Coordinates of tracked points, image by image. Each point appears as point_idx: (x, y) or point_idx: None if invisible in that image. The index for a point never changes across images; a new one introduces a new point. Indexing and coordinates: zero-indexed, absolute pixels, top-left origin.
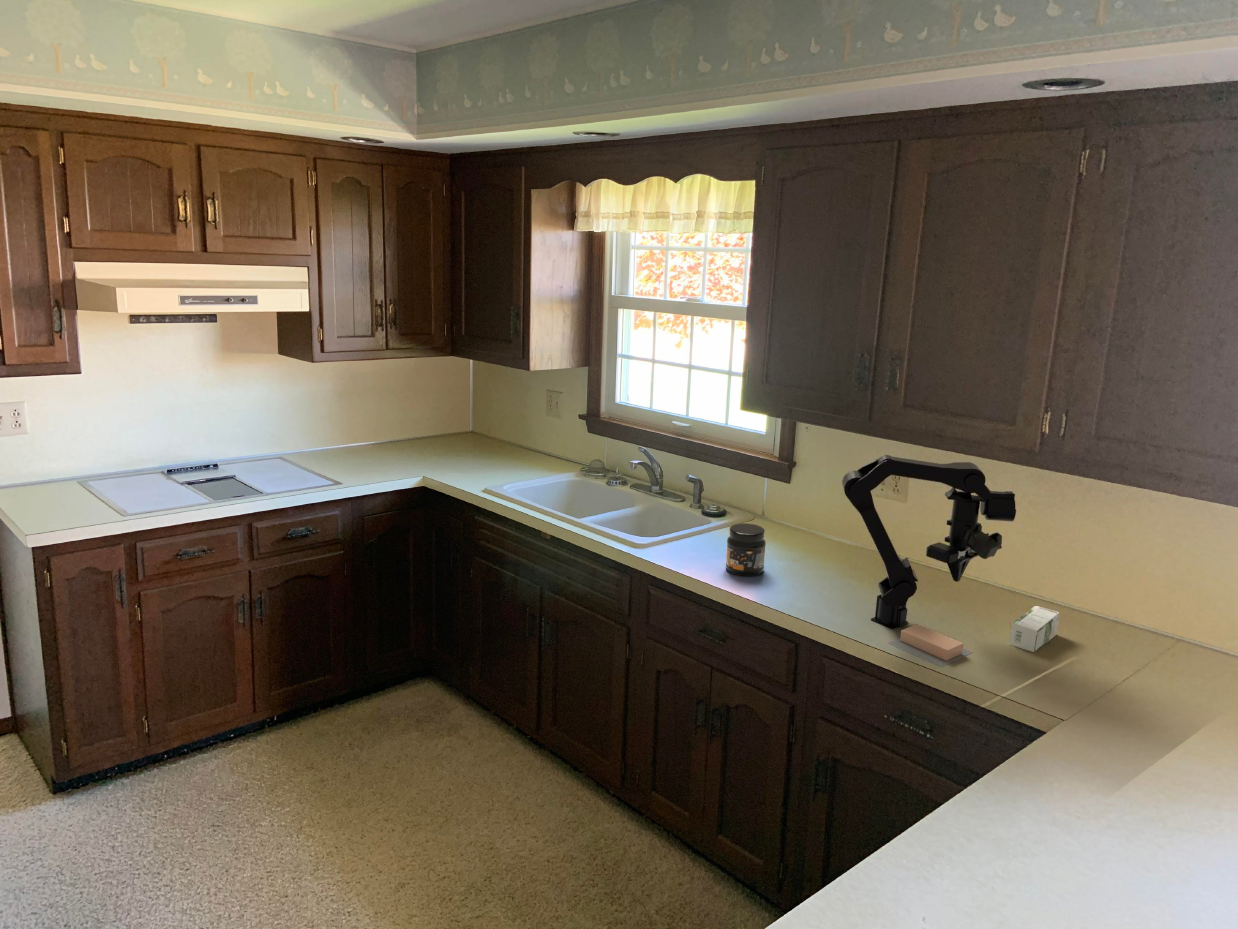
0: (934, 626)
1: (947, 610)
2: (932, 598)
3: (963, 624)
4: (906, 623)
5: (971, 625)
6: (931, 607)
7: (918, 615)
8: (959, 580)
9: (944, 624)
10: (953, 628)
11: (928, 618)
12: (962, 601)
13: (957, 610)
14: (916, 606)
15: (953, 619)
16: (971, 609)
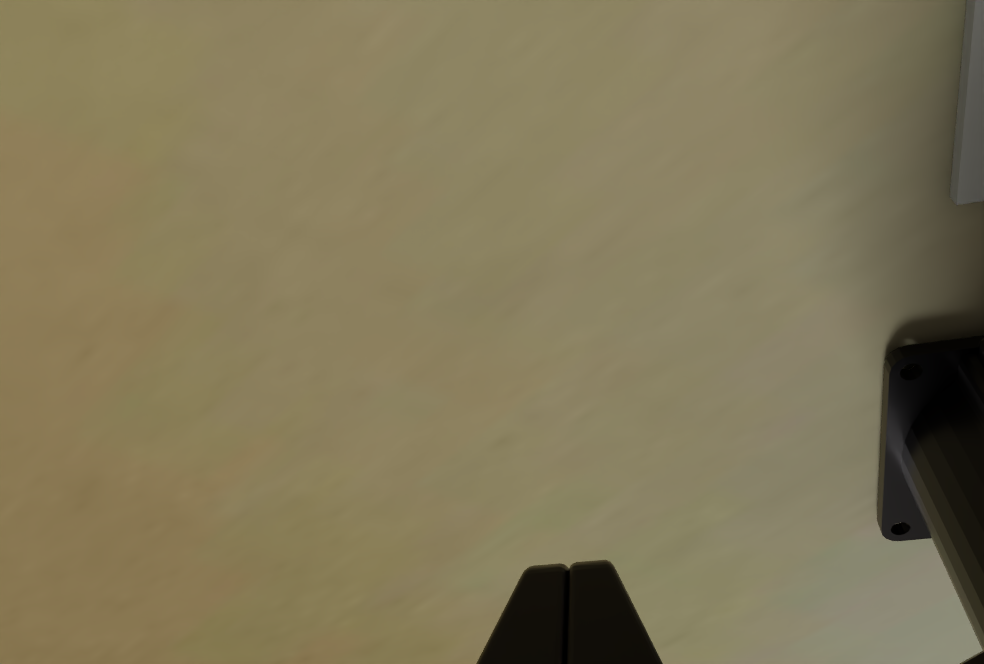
0: (691, 218)
1: (296, 403)
2: (268, 573)
3: (357, 135)
4: (933, 350)
5: (287, 81)
6: (393, 484)
7: (628, 429)
8: (535, 576)
9: (553, 212)
10: (540, 104)
11: (594, 359)
12: (49, 465)
13: (204, 372)
14: (501, 534)
15: (376, 258)
16: (56, 340)
